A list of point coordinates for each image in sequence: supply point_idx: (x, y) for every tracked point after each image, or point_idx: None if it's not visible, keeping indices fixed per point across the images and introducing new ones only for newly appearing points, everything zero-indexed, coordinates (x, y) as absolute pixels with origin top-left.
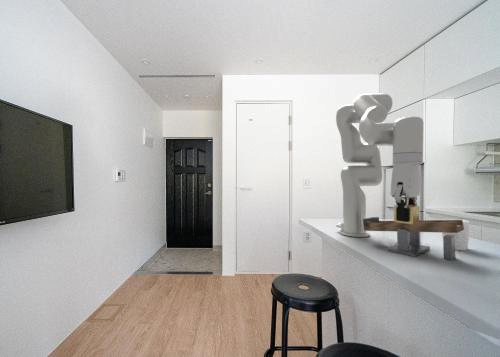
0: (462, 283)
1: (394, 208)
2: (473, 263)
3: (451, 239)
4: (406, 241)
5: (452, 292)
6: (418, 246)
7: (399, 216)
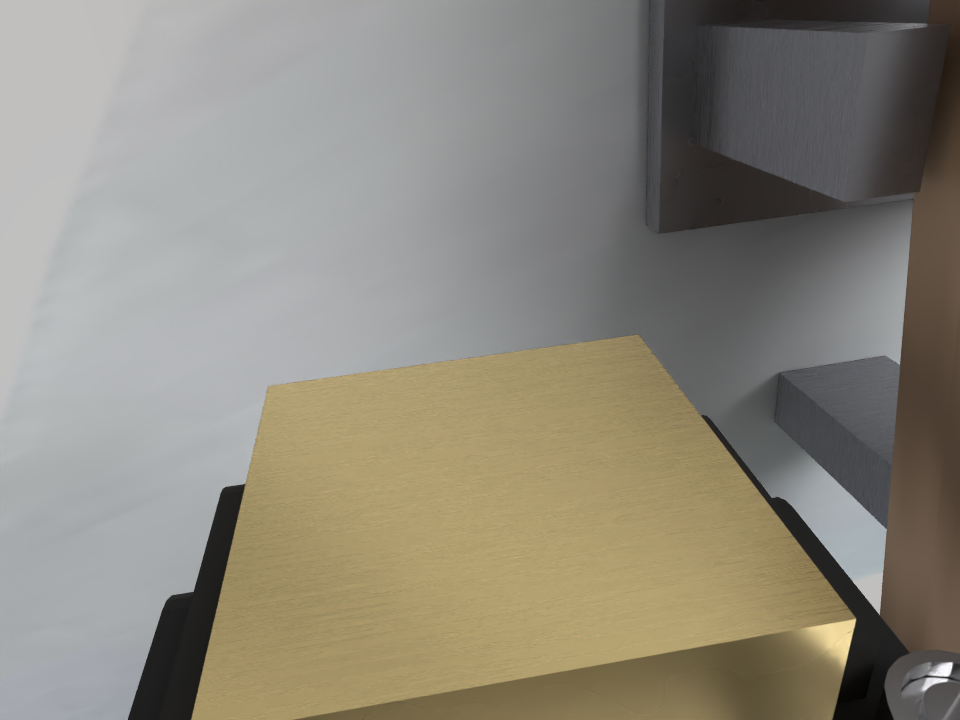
0: None
1: (220, 637)
2: (800, 513)
3: None
4: (748, 154)
5: (55, 678)
6: None
7: (170, 634)
